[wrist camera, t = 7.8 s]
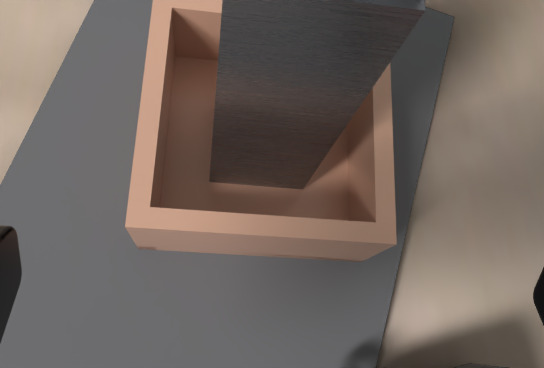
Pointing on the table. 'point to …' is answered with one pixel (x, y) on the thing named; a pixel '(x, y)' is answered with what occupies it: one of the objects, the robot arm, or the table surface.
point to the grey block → (296, 81)
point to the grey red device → (478, 366)
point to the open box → (247, 198)
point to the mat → (176, 264)
